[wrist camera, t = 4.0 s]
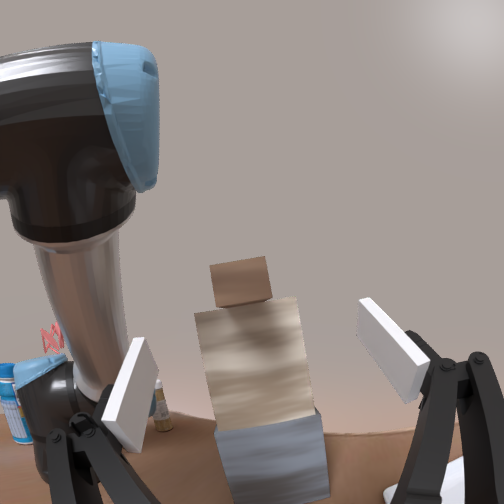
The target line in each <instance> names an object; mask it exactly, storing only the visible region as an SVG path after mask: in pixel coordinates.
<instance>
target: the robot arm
mask: <svg viewBox="0 0 504 504" xmlns="http://www.w3.org/2000/svg"><path fill="white" fill-rule="evenodd" d="M158 165H159V78H158V68H157V63H156V60H155V58H154V56H153V54H152V53H151V52H150V51H149V50H148V49H146V48H145V47H142V46H139V45H132V44H122V43H111V42H101V41H94V42H86V43H74V44H64V45H56V46H49V47H43V48H37V49H32V50H27V51H22V52H18V53H13V54H9V55H5V56H2V57H0V199H7V200H8V202H9V207H10V212H11V217H12V222H13V226H14V230H15V231H16V233H17V234H18V235H19V236H20V237H21V238H22V239H24V240H26V241H27V242H29V243H32V244H33V246H34V250H35V254H36V258H37V262H38V266H39V269H40V273H41V276H42V280H43V283H44V286H45V289H46V292H47V295H48V298H49V301H50V304H51V307H52V310H53V312H54V315H55V317H56V320H57V323H58V325H59V328H60V330H61V333H62V335H63V337H64V340H65V342H66V344H67V346H68V349H69V351H70V353H71V355H72V357H73V359H74V361H67V360H68V358H67V357H66V355H65V354H63V353H61V354H55V355H49V356H44V357H39V358H34V359H30V360H26V361H21V362H19V363H17V364H15V366H14V368H13V374H14V380H15V386H16V387H15V389H16V390H17V394H18V398H19V401H20V404H21V408H22V411H23V414H24V417H25V420H26V423H27V426H28V429H29V431H30V434H31V437H32V439H33V445H34V454H35V462H36V467H37V470H38V472H39V474H40V476H41V478H42V479H43V480H44V481H45V482H46V483H48V484H49V486H50V493H51V499H52V504H103V501H102V498H101V495H100V491H99V488H98V484H97V482H99V481H101V483H102V485H103V486H104V488H105V490H106V491H107V493H108V495H109V496H110V498H111V499H112V501H113V502H114V504H161V503H160V502H159V501H158V500H157V498H156V497H155V496H154V495H153V494H152V492H151V491H150V490H149V489H148V487H147V486H146V485H145V484H144V482H143V481H142V480H141V479H140V477H139V476H138V475H137V473H136V472H135V470H134V469H133V468H132V466H131V465H130V463H129V462H128V461H127V459H126V458H125V456H124V455H123V454H122V453H121V450H122V446H123V447H124V449H125V450H126V451H127V452H132V453H141V450H142V445H143V440H144V435H145V430H146V425H147V420H148V417H151V416H153V415H154V414H155V412H156V407H157V401H156V395H155V385H156V381H157V376H158V372H159V369H158V367H157V365H156V363H155V361H154V358H153V356H152V353H151V351H150V349H149V346H148V344H147V341H146V339H145V337H140V338H134V339H133V341H132V343H131V346H130V347H129V342H128V336H127V329H126V322H125V314H124V306H123V297H122V287H121V274H120V257H119V228H120V227H122V226H123V225H124V224H125V223H126V222H127V221H128V220H129V219H130V218H131V216H132V214H133V213H134V210H135V200H136V191H137V192H138V193H143V192H145V191H146V190H150V189H152V188H153V187H154V186H155V184H156V181H157V174H158ZM356 336H357V337H358V338H359V340H360V341H361V343H362V344H363V345H364V347H365V348H366V349H367V351H368V352H369V354H370V355H371V356H372V358H373V359H374V360H375V362H376V363H377V365H378V366H379V367H380V369H381V370H382V372H383V373H384V375H385V376H386V377H387V379H388V380H389V382H390V383H391V384H392V386H393V387H394V389H395V390H396V392H397V393H398V395H399V396H400V397H401V399H402V400H403V401H404V403H405V404H407V403H409V402H411V401H413V400H416V399H417V398H418V395H419V393H420V392H421V393H422V394H423V399H422V401H421V403H420V406H419V409H420V412H419V417H418V421H417V425H416V429H415V433H414V437H413V440H412V444H411V447H410V451H409V454H408V457H407V460H406V463H405V466H404V469H403V472H402V475H401V478H400V480H399V483H398V485H397V488H396V491H395V493H394V495H393V498H392V500H391V502H390V504H441V503H442V497H441V496H440V492H441V488H442V484H443V480H444V476H445V472H446V468H447V464H448V459H449V454H450V449H451V443H452V437H453V430H454V422H455V412H456V408H457V413H458V420H459V426H460V433H461V441H462V451H463V463H464V487H465V498H464V504H504V398H503V395H502V392H501V389H500V386H499V383H498V380H497V377H496V375H495V372H494V369H493V367H492V365H491V362H490V360H489V358H488V356H487V355H486V354H484V353H482V352H473V353H472V354H470V356H469V359H468V361H463V362H459V363H456V362H455V361H453V360H452V359H449V358H441V357H440V356H439V355H438V354H437V353H436V352H435V351H434V350H433V349H432V348H431V347H430V346H429V345H428V344H427V343H426V342H425V341H424V340H423V339H422V338H421V337H420V336H419V335H418V334H417V333H414V332H413V331H410V330H409V331H406V332H403V331H402V330H401V329H400V328H399V327H398V326H397V325H396V324H395V323H394V322H393V320H392V319H390V317H388V316H387V315H386V313H385V312H384V311H383V310H381V309H380V307H379V306H378V305H377V304H376V303H374V302H373V301H372V300H371V299H370V298H369V297H368V298H364V299H361V300H359V301H358V320H357V334H356Z"/></svg>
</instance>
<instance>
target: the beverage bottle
mask: <svg viewBox="0 0 504 504" xmlns="http://www.w3.org/2000/svg"><path fill="white" fill-rule="evenodd" d="M14 366H15V364H13V363H3V364H0V396H1V404H2V406H3V409H4V412H5V416H6V419H7V421H8V424H9V427H10V430H11V433H12V436H13V439H14V441H15V442H17V443H19V444H23V445H29V444H33V439H32V437H31V434H30V431H29V429H28V426H27V423H26V420H25V417H24V414H23V411H22V408H21V404H20V401H19V398H18V394H17V390H16V389H15V387H16V386H15V380H14V374H13V368H14Z"/></svg>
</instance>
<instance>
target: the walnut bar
mask: <svg viewBox="0 0 504 504" xmlns="http://www.w3.org/2000/svg"><path fill="white" fill-rule="evenodd" d="M210 272H211V278H212V284H213V291H214V297H215V302H216V307H219V308H232V307H238V306H244V305H249V304H255V303H261V302H265V301H267V300H268V299H270V298H272V292H271V286H270V281H269V276H268V270H267V265H266V260H265V256H263V257H256V258H251V259H245V260H239V261H233V262H227V263H221V264H215V265H210Z"/></svg>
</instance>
